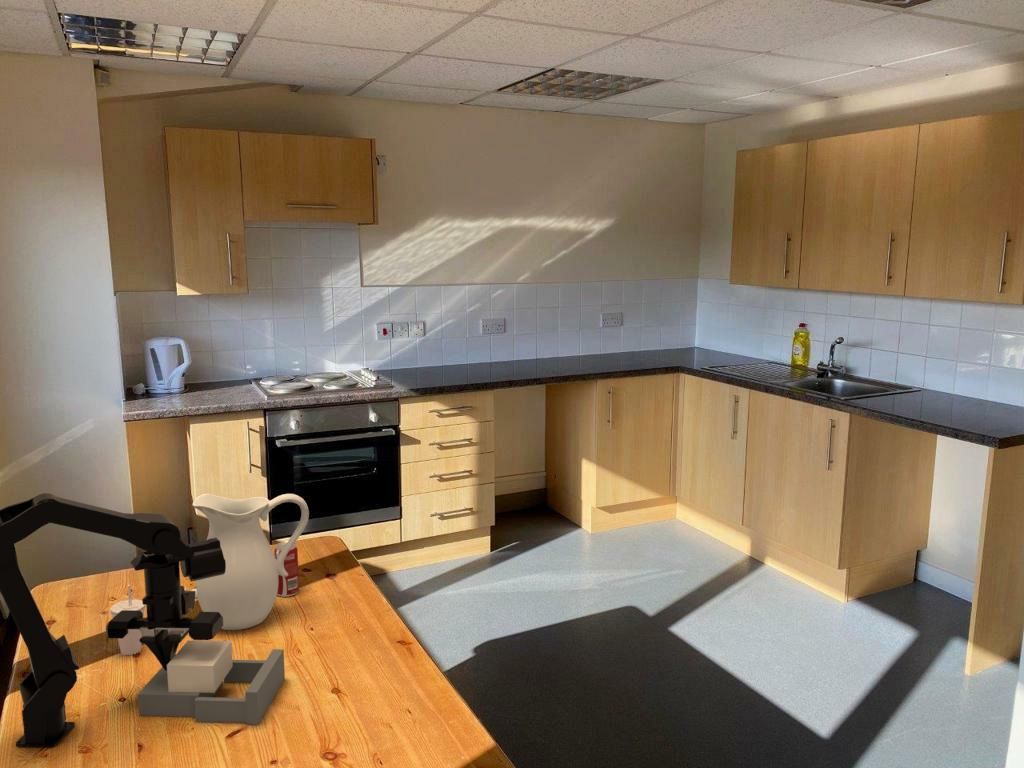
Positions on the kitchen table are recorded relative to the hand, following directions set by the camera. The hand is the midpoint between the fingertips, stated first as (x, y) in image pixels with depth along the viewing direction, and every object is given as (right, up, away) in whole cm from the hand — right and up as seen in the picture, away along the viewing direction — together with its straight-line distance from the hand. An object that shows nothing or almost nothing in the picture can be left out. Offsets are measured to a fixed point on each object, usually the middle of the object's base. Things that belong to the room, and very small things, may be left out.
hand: (168, 669), depth 146 cm
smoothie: (-15, -3, +18) cm, 24 cm away
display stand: (+8, -6, +1) cm, 10 cm away
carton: (+6, -2, 0) cm, 6 cm away
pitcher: (+5, 0, +33) cm, 34 cm away
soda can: (+9, +2, +46) cm, 47 cm away
